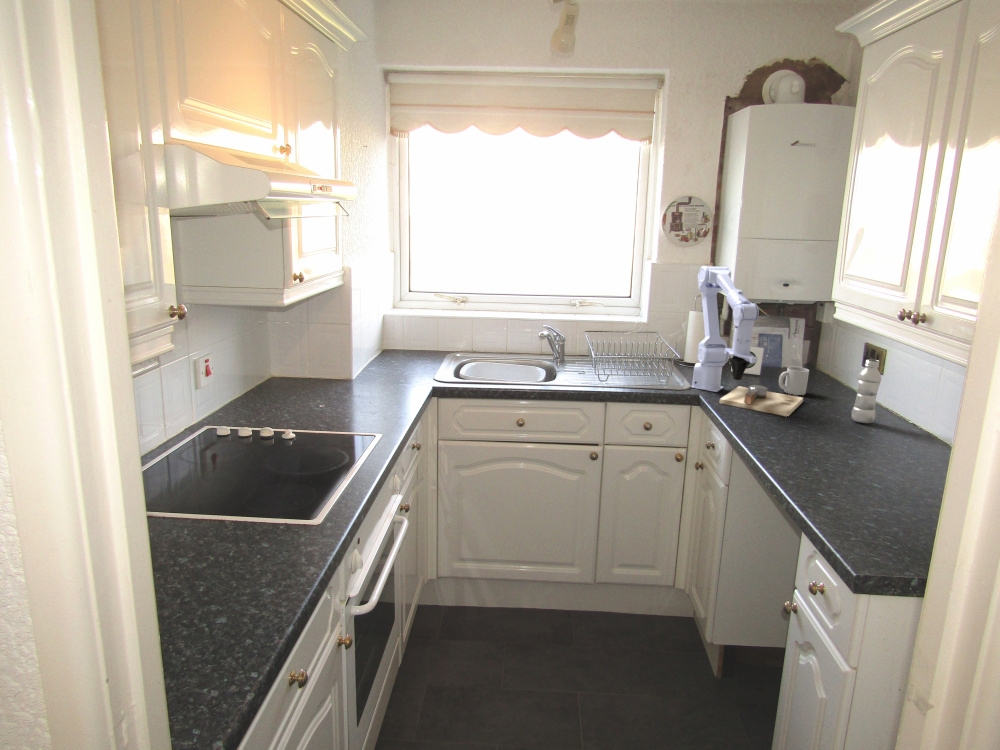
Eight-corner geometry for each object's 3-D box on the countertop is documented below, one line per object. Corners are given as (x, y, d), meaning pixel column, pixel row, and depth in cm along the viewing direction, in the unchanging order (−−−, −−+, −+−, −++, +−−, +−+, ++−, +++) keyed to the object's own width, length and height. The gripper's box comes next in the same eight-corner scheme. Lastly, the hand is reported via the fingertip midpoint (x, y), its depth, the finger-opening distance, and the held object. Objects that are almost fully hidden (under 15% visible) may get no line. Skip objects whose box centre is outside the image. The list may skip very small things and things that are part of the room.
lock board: (719, 403, 230) (719, 398, 230) (738, 390, 248) (738, 386, 248) (787, 416, 218) (788, 412, 218) (802, 401, 236) (803, 397, 236)
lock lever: (750, 392, 239) (751, 384, 238) (768, 395, 235) (769, 387, 235) (737, 401, 227) (739, 392, 226) (756, 405, 223) (757, 396, 223)
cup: (809, 396, 244) (812, 371, 242) (781, 395, 244) (784, 370, 242) (800, 390, 251) (803, 367, 249) (773, 389, 251) (776, 366, 249)
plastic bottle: (876, 426, 212) (888, 363, 207) (853, 424, 213) (864, 361, 208) (870, 420, 218) (881, 359, 213) (847, 418, 219) (857, 357, 214)
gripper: (718, 335, 232) (714, 374, 236) (746, 344, 219) (741, 385, 222) (736, 335, 235) (731, 373, 238) (764, 343, 221) (759, 384, 225)
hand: (737, 379), depth 230 cm, fingers closed
